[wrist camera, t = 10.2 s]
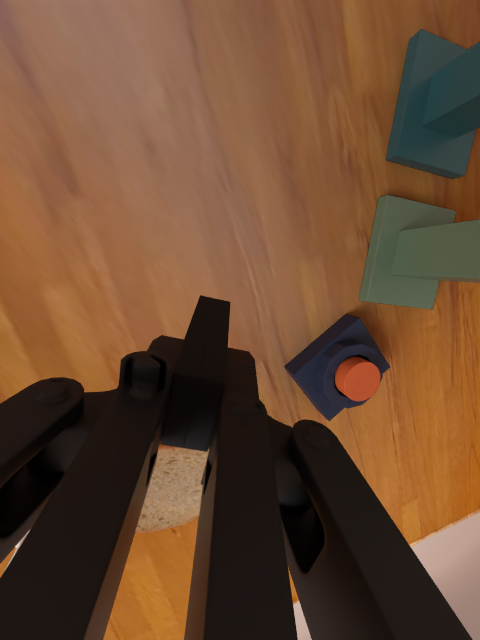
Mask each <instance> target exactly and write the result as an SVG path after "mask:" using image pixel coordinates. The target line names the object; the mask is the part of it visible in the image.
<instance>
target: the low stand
mask: <svg viewBox="0 0 480 640" xmlns="http://www.w3.org/2000/svg"><path fill="white" fill-rule="evenodd" d="M477 128H480V41H479V42H478V43H477V44H475V45H474V46H472V47H471V48H470V49H465V48H463V47H461V46H459V45H456V44H454V43H452V42H450V41H447V40H445V39H443V38H441V37H438V36H436V35H434V34H432V33H429V32H427V31H425V30H423V29H420V30H419V31H418V32H417V33H416V34H415V35H414V36H413V37H412V38H411V39H410V40H409V44H408V49H407V54H406V60H405V65H404V70H403V75H402V80H401V85H400V90H399V95H398V100H397V106H396V111H395V116H394V121H393V126H392V131H391V136H390V141H389V146H388V152H387V157H386V160H387V161H390V162H394V163H398V164H401V165H405V166H408V167H412V168H416V169H419V170H423V171H426V172H430V173H433V174H437V175H441V176H444V177H448V178H451V179H454V178H458V177H461V176H464V175H465V173H466V169H467V165H468V161H469V156H470V152H471V148H472V144H473V140H474V136H475V131H476V129H477Z"/></svg>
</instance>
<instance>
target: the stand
mask: <svg viewBox="0 0 480 640" xmlns="http://www.w3.org/2000/svg"><path fill="white" fill-rule="evenodd" d="M455 214H456V211H454V210H450V209H446V208H441V207H437V206H433V205H429V204H425V203H421V202H416V201H412V200H408V199H404V198H400V197H396V196H392V195H385V196H382V197H379V198H378V203H377V208H376V214H375V219H374V224H373V229H372V234H371V239H370V244H369V249H368V254H367V260H366V265H365V270H364V275H363V280H362V285H361V290H360V295H359V300H360V301H365V302H373V303H381V304H390V305H398V306H407V307H416V308H424V309H433V306H434V302H435V298H436V293H437V289H438V285H439V281H440V280H441V281H458V282H475V283H480V219H478V220H471V221H464V222H457V223H454V218H455Z"/></svg>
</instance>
